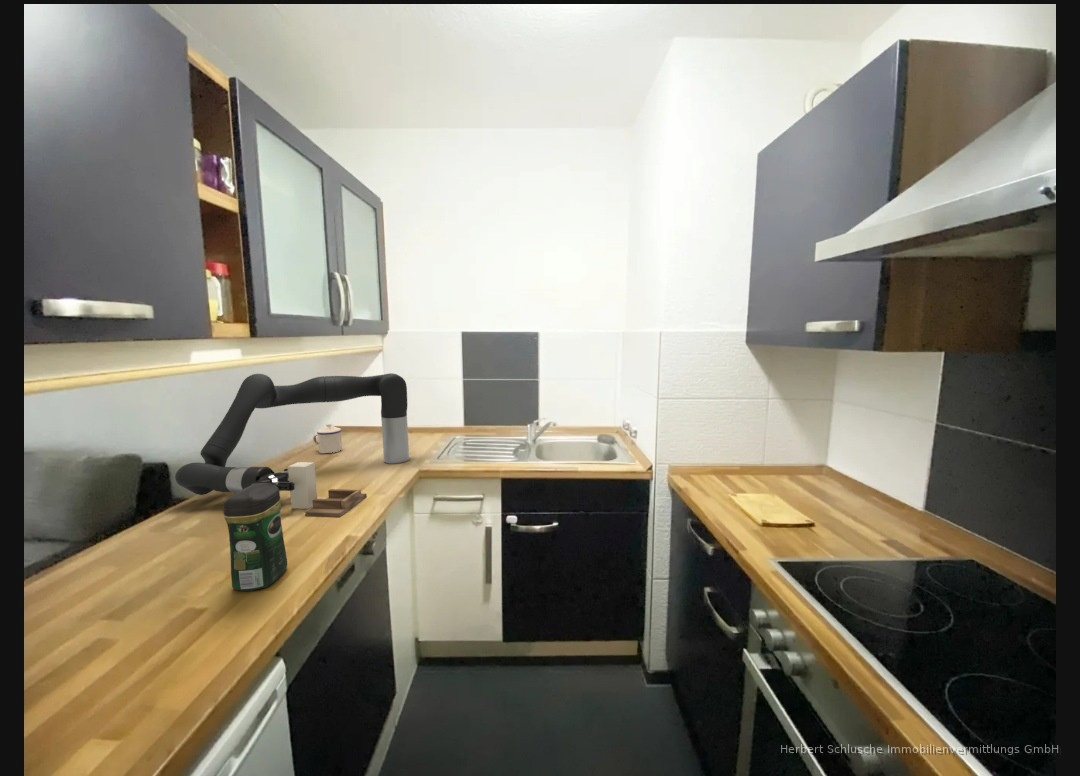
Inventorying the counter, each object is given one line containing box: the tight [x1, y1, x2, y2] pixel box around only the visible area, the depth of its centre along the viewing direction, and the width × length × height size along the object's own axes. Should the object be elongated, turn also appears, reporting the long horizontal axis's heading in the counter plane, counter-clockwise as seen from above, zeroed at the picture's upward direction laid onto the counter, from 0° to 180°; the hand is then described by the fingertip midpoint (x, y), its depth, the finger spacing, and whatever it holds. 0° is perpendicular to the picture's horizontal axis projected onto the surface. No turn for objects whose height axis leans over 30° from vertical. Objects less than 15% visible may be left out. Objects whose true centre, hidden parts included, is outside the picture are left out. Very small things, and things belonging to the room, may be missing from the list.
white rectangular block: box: [287, 461, 318, 510], centre depth 118 cm, size 4×5×12 cm
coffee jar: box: [222, 483, 288, 592], centre depth 82 cm, size 10×8×19 cm
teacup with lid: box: [312, 423, 343, 454], centre depth 175 cm, size 12×9×12 cm
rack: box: [304, 488, 368, 518], centre depth 118 cm, size 14×10×3 cm
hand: (303, 481), depth 118 cm, fingers open, 8 cm apart
